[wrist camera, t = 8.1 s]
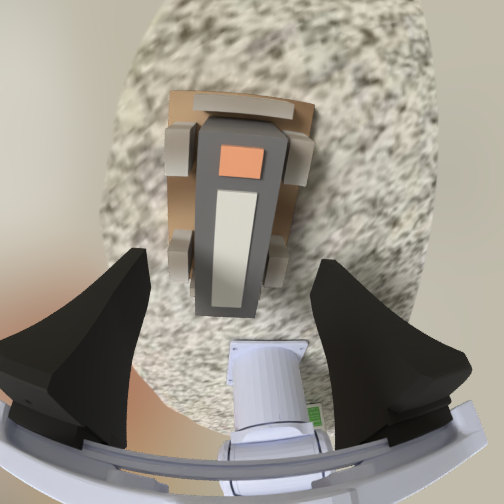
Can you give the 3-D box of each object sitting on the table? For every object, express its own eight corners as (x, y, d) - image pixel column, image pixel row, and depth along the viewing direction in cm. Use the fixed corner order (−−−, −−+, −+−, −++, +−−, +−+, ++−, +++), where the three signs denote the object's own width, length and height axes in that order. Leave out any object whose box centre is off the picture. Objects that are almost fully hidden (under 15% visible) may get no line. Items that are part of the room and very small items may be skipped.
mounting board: (276, 274, 22) (282, 306, 19) (173, 268, 21) (166, 301, 18) (310, 103, 14) (329, 109, 11) (173, 90, 13) (158, 93, 10)
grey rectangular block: (249, 264, 20) (254, 321, 15) (201, 261, 19) (195, 318, 15) (271, 121, 14) (289, 140, 10) (209, 115, 13) (198, 132, 9)
